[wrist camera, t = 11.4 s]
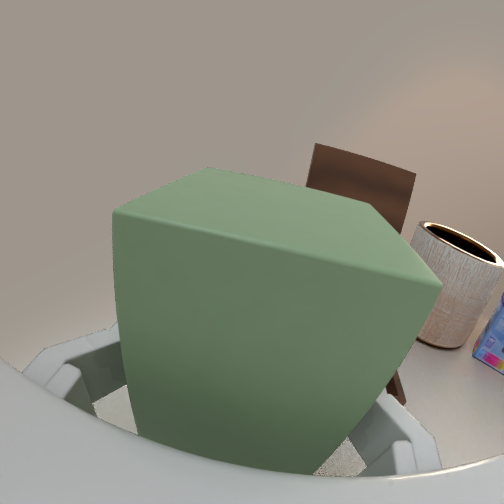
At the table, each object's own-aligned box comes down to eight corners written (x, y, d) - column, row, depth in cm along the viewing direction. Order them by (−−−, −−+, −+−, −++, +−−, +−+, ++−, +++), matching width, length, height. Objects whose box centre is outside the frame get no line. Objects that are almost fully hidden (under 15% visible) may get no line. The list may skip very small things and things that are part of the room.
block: (151, 482, 8) (110, 208, 4) (185, 399, 13) (207, 166, 8) (273, 510, 8) (445, 284, 4) (283, 422, 13) (371, 203, 8)
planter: (473, 362, 34) (520, 278, 28) (385, 334, 39) (428, 238, 33) (454, 310, 49) (484, 243, 43) (384, 285, 54) (411, 212, 48)
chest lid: (416, 173, 31) (404, 171, 36) (315, 142, 32) (312, 144, 36) (376, 303, 37) (368, 290, 42) (282, 283, 38) (282, 271, 42)
